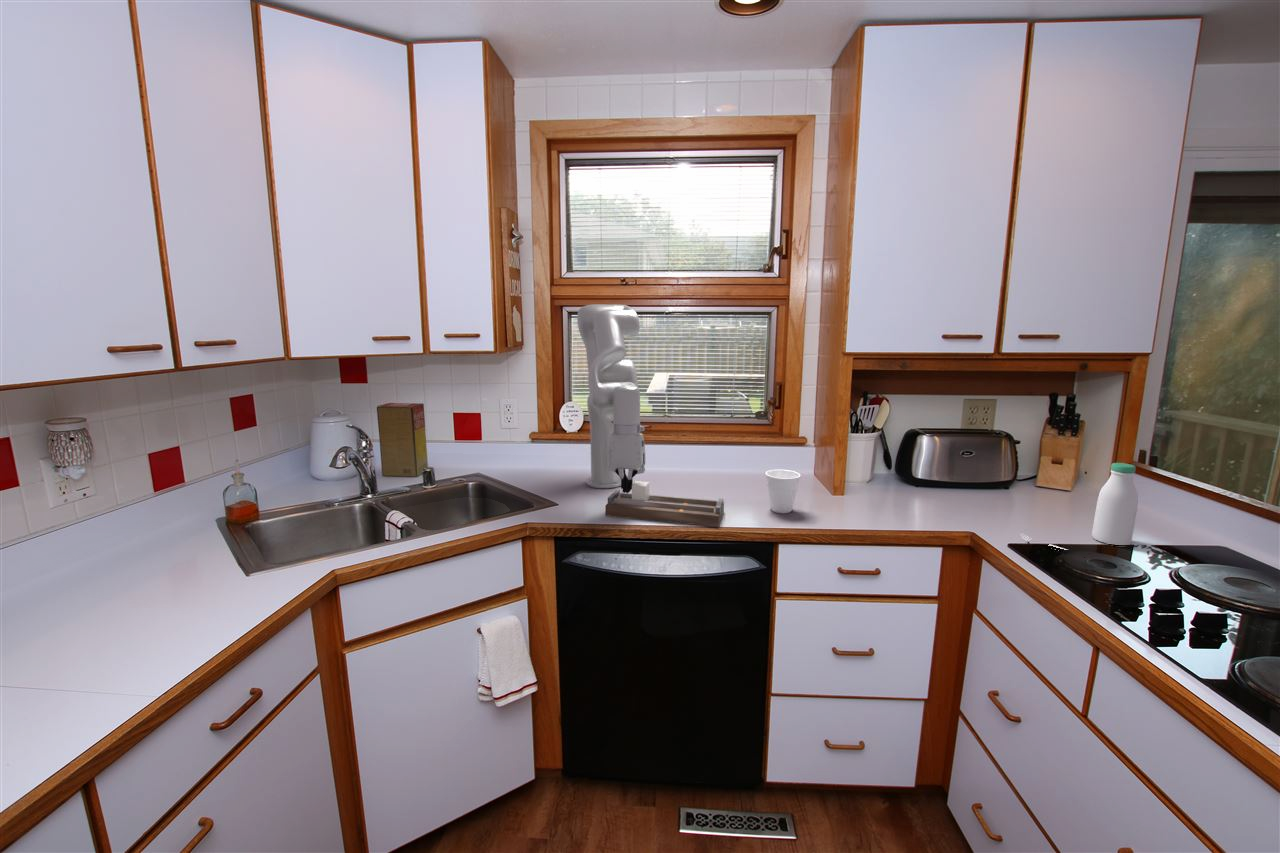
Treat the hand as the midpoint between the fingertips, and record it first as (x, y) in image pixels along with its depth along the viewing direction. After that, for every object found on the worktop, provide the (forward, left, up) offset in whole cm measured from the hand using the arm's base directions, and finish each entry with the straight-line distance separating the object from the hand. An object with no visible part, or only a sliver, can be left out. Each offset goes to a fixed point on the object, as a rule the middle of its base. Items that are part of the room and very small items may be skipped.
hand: (626, 491), depth 163 cm
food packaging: (-17, -88, -6) cm, 89 cm away
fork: (+1, +110, -6) cm, 111 cm away
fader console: (0, +11, -6) cm, 13 cm away
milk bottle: (-10, +124, -6) cm, 125 cm away
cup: (-12, +43, -6) cm, 45 cm away
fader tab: (0, +4, -2) cm, 5 cm away
